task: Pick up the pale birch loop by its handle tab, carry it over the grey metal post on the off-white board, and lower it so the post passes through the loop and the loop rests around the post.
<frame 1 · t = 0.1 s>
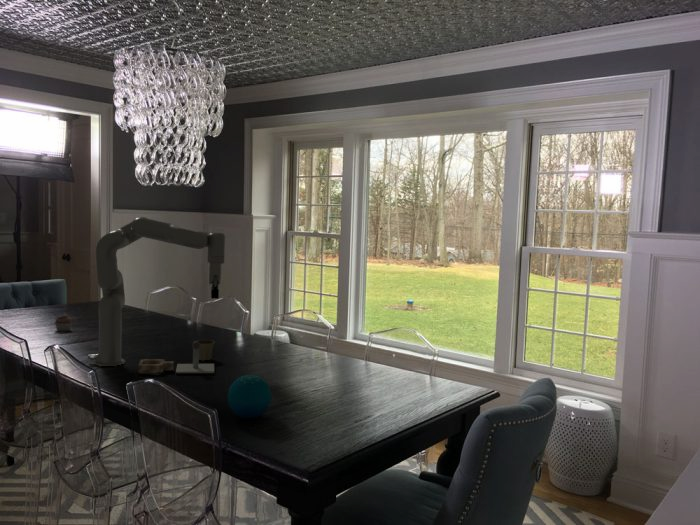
hand: (214, 296, 278), 31 cm above the table, tool pointing down, fingers open, 9 cm apart
decorative orb: (248, 418, 211), on the table
cupcake: (63, 331, 333), on the table
post stand: (195, 370, 266), on the table
birch loop: (151, 371, 262), on the table
flower pot: (204, 360, 286), on the table
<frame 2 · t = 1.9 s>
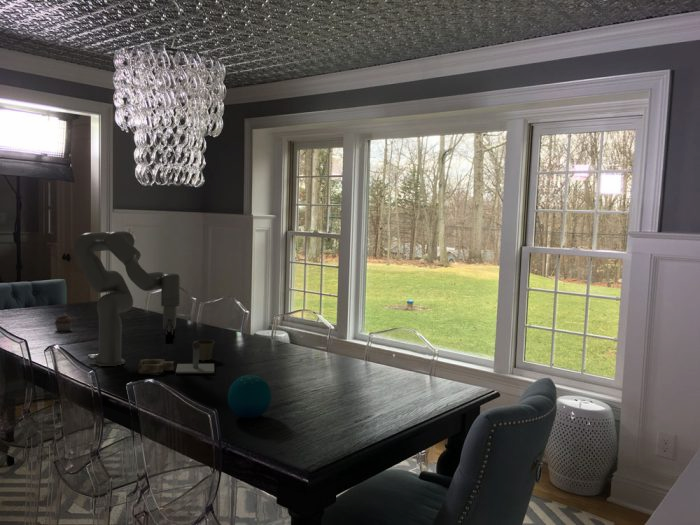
hand: (170, 341, 262), 13 cm above the table, tool pointing down, fingers open, 9 cm apart
nothing on the table moved.
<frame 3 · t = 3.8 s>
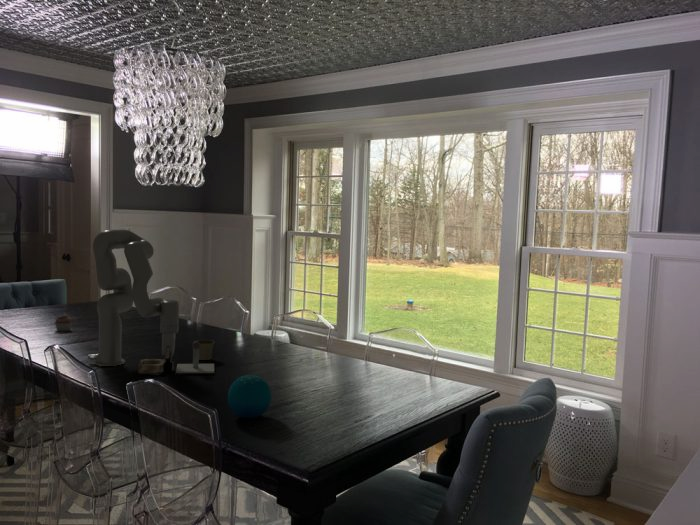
hand: (168, 369, 264), 1 cm above the table, tool pointing down, fingers closed on birch loop, 3 cm apart
birch loop: (151, 371, 262), on the table, touching gripper
everything else where it was.
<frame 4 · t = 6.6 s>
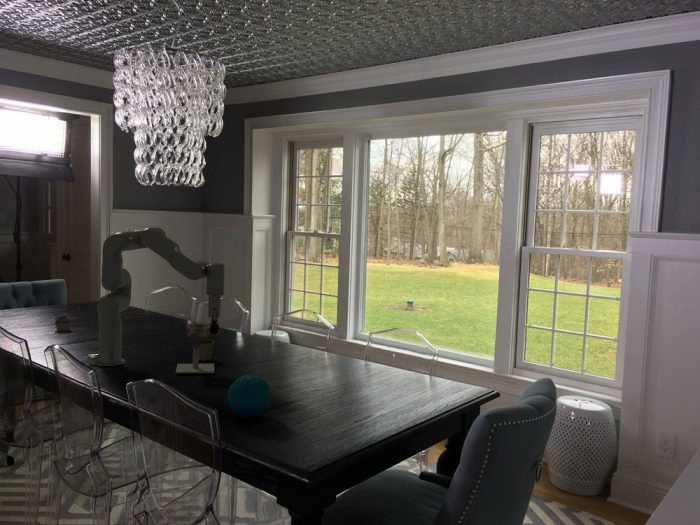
hand: (213, 332, 266), 17 cm above the table, tool pointing down, fingers closed on birch loop, 3 cm apart
birch loop: (198, 334, 265), point 16 cm above the table, touching gripper
everything else where it was.
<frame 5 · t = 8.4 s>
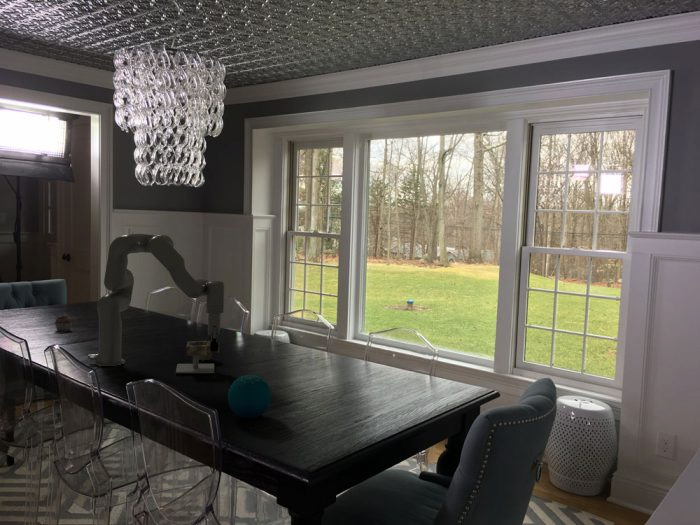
hand: (213, 349, 267), 9 cm above the table, tool pointing down, fingers closed on birch loop, 3 cm apart
birch loop: (198, 352, 266), point 8 cm above the table, touching gripper
everything else where it was.
when the fingers open (5 cm above the table, at t = 9.8 s): birch loop drops 2 cm, resting on post stand.
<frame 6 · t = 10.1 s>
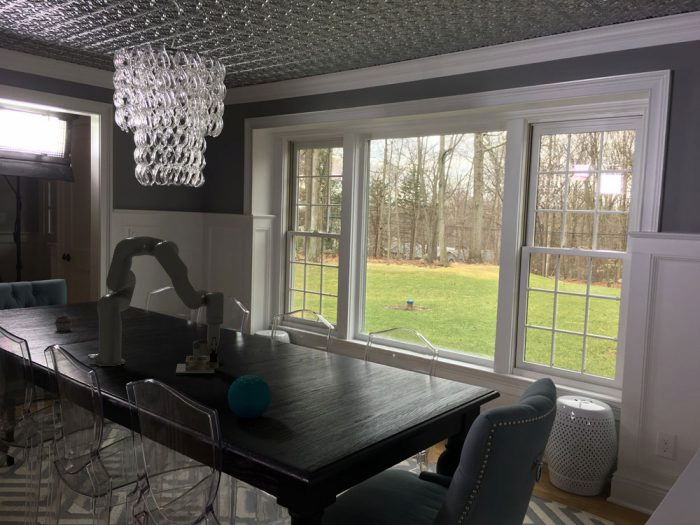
hand: (213, 359, 267), 5 cm above the table, tool pointing down, fingers open, 5 cm apart
birch loop: (197, 367, 266), point 1 cm above the table, touching post stand
everything else where it was.
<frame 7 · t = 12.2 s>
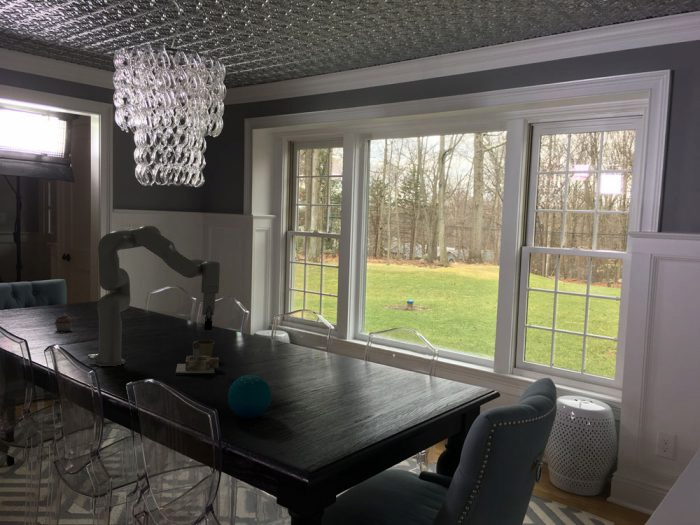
hand: (208, 327, 267), 19 cm above the table, tool pointing down, fingers open, 9 cm apart
nothing on the table moved.
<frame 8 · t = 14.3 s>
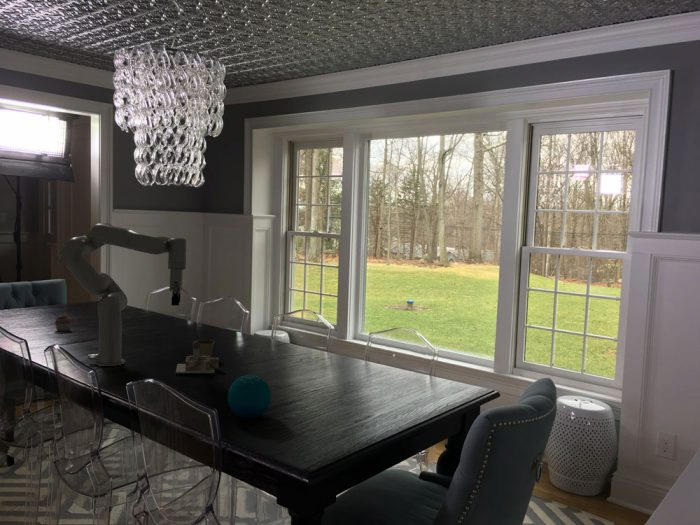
hand: (175, 303, 271), 28 cm above the table, tool pointing down, fingers open, 9 cm apart
nothing on the table moved.
at the end: birch loop 0.9 cm from the post stand (horizontally); birch loop point 1.5 cm above the table; the gripper is holding nothing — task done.
